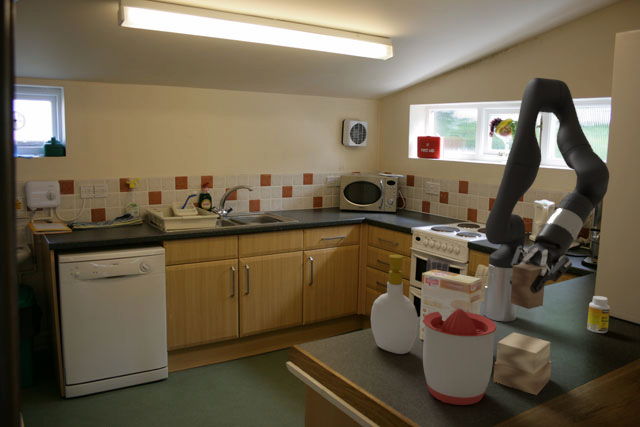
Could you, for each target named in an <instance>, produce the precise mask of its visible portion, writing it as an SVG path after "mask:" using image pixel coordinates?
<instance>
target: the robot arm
mask: <svg viewBox="0 0 640 427" xmlns="http://www.w3.org/2000/svg"><path fill="white" fill-rule="evenodd" d="M540 113H547V114H553V115H554V116H555V117H556V118H557V120H558V122H559V126H558V129H557V134H556V144H557V148H558V151H559V152H560V155H561V156H562V159H563V161H564V163H565V164H566V165H567V166H568V168H570V169H571V170H573V171H574V172H575V174H576V183H575V187H574V189H573V191H572V192H571V193H568V194H566V195H565V196H564V197H563V198H562V199H561V201H560V202H559V203H558V205H557V206H556V208H555V209H554V211H553V213H552V214H550V216H548V218H547V220H546V221H545V223H544V224H543V226H542V227H541V229H539V231H538V233H537V235H536V236H535V238H534V242H533V244H532V245H531V246H529V247H528V248H526V247H525V241H526V224H525V222H524V219H523V218H522V217H521V215H520V214H516V213H513V212H514V209H515V206H516V205H517V203H518V202H520V200H521V199H522V197H523V196H524V195H525V194H526V193H527V192H528V191H529V190H530V188H531V187H532V186H533V184H534V182H535V180H536V178H537V177H538V176H537V175H538V172H539V169H540V166H541V164H542V152H541V148H540V144H539V141H538V139H537V133H536V127H537V123H538V122H537V120H538V117H539V114H540ZM512 140H513V141H512V143H511V147H510V149H509V153H508V156H507V160H506V164H505V166H504V171H503V174H502V178H501V181H500V185H499V187H498V190H497V194H496V197H495V199H494V203H493V204H492V207H491V209H490V212H489V214H488V217H487V220H486V222H485V227H484V228H485V229H484V233H485V237H486V240H487V241H488V243H490V244H491V245H496V246H497V245H498V246H499V247H498V249H497V250H495V251H494V252H492V253H491V254H490V255H489V256H488V272H487V285H485V286H484V291H483V293H484V294H483V306H482V307H483V308H482V316H484V317H486V318H488V319H490V320H492V321H498V322H513V321H515V320H516V319H517V306H518V305H515V304H512V303H511V289H512V273H513V266H514V265H520V264H532V265H536V266H540V267H541V268H542V269H541V271H540V276H537V278H536V279H535V281H534V282H533V284H532V285H531V287H530V290H531V291H532V292H533V293H535V294H536V293H537V292H539V291H540V290H541V289H542V287H543V286H544V287H545V285H546V283H547V282H549V281H552V282H554V283H555V282H557V281H558V280H559V279H560V278H561V277H562V276H563V275H564V274H565V273H566V272H567V271H569V269H570V268H571V267H572V266H573V263H572V261H571V259H570V258H569V256H567V255H566V254H567V253H568V251H569V249H570V248H571V246H572V244H573V243H574V241H575V240H576V238H577V237H578V235H580V234H579V233H580V231H581V229H582V227H583V226H584V224H585V222H586V221H587V219H588V218H589V216H590V214H591V213H592V211H594V210H595V208H597V206H598V205H600V204H601V202H602V200H603V199H604V198H605V196H606V194H607V192H608V187H609V182H610V172H609V171H610V170H609V169H608V166H607V164H606V163H605V161H604V160H603V159H602V158H601V157H600V156H599V155H598V154H597V153H596V152H595V151H594V149H593V147H592V146H591V145H592V144H591V143H590V142H589V140H588V138H587V136H586V135H585V133H584V130H583V128H582V126H581V123H580V120H579V116H578V113H577V110H576V106H575V103H574V100H573V96H572V93H571V91H570V88H569V86H568V84H567V83H566V82H565V81H564V80H563V81H562V80H561V79H554V78H553V79H552V78H544V77H534V78H531V79H530V80H529V81H528V82H527V83H526V86H525V88H524V91H523V94H522V99H521V102H520V108H519V114H518V119H517V124H516V129H515V132H514V136H513V139H512ZM565 255H566V256H565Z"/></svg>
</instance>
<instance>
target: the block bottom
mask: <svg viewBox="0 0 640 427" xmlns="http://www.w3.org/2000/svg"><path fill="white" fill-rule="evenodd" d="M551 370H552V360H549V363H547V364H546V365H545V366H544V367H543V368H541V369H540V370H539V371H538V372H537V373H535V374H532V373H528V372H525V371H522V370H519V369H516V368H512V367H509V366H506V365H503V364H499V363H496V361H495V362H494V363H493V381H492V382H493V383H496V382H497V383H496V384H499V383H500V385H502V384H503V385H502V386H505V385H506V387H510V388H512V387H513V388H512V389H515V390H518V389H519V391H521V390H522V392H525V393H529V394H532V395H534V394H535V395H534V396H538V394H539V393H540V392H541V391H542V390H543V389H544V388H545V386H546V385H547V384H548V382H549V381H550V380H551V375H552V374H551V372H552V371H551Z"/></svg>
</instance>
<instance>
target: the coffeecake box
mask: <svg viewBox="0 0 640 427" xmlns="http://www.w3.org/2000/svg"><path fill="white" fill-rule="evenodd" d="M482 279H483V278H480V277H475V276H469V275H465V274H460V273H456V272H455V273H454V272H451V271H444V270H439V269H430V270H428V271H425V272H422V274H421V292H420V296H421V297H420V315H419V316H420V320H419V321H420V322H419V340H422V341H424V321H423V319H424V317H425V316H426V315H428V314H430V313H433V312H439V313H440V314H441V315H442V320H443V321H445V320H446V319H447V318H448V317H449V316H450V315H451V314H452V313H453V312H454V311H456V310H457V309H462V310H463V311H464V312H469V313H474V314H478V315H481V305H482V304H481V302H482V287H483V286H482V285H483V284H482V282H483V280H482Z"/></svg>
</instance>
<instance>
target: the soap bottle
mask: <svg viewBox="0 0 640 427" xmlns="http://www.w3.org/2000/svg"><path fill="white" fill-rule="evenodd" d="M388 259H389V267H390V270H389V271H388V281H387V283H386V284H387V286H386V293H383V294H380V295H379V296H378V297H377V298H376V299H375V300H374V301H373V305H372V307H371V313H370V325H371V331H372V335H373V337H374V341H375V343H376V345H377V347H379V348H380V349H382V350H383V351H387V352H390V353H392V354H398V355H404V354H407V353H409V352H410V351H411V349H412V348H413V346H414V343H415V341H416V339H417V335H418V330H419V324H418V323H419V322H418V321H419V320H418V313H417V309H416V306H415V304H413V302H412V300H411V299H409V298H408V297H407V296H406V295H404V294H403V292H404V291H403V289H404V283H403V271H401V269H402V265H403V261H404V260H403V259H408V257H407V256H403V255H400V254H389V256H388Z"/></svg>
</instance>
